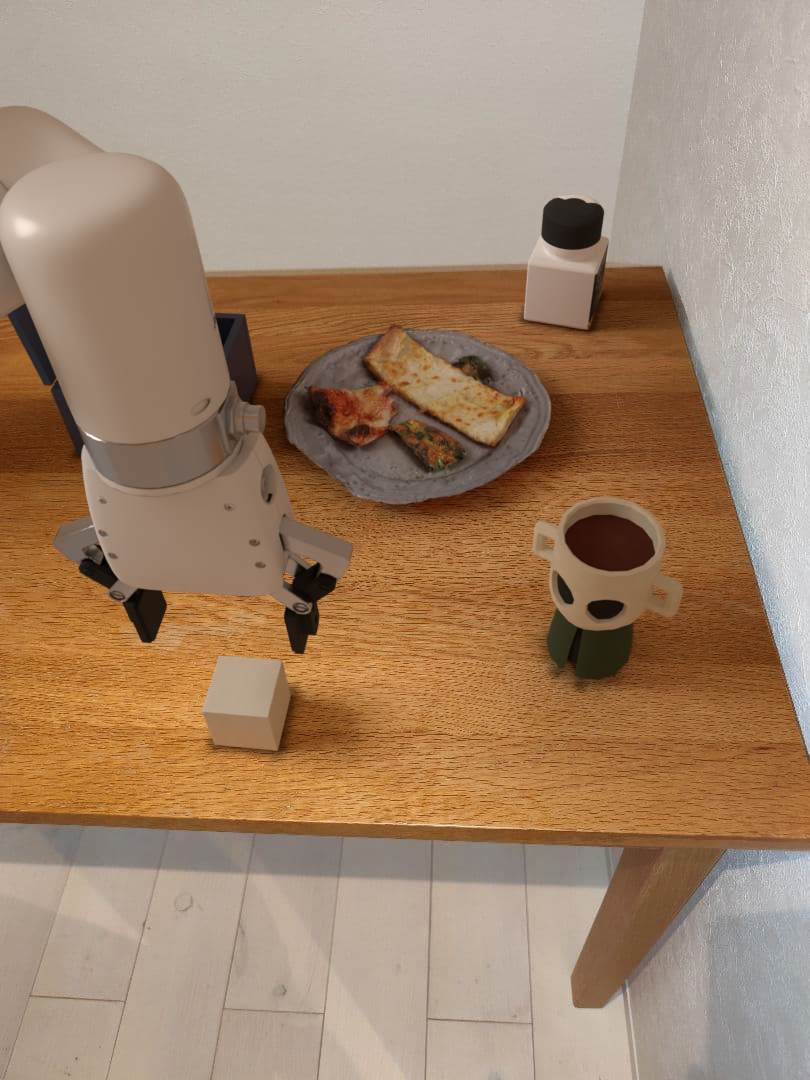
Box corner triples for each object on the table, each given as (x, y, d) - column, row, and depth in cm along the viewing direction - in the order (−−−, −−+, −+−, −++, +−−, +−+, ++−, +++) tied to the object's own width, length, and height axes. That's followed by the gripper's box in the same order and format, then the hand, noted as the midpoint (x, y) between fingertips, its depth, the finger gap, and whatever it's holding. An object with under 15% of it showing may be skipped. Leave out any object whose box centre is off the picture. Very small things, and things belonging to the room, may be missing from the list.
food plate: (241, 414, 87) (235, 385, 85) (419, 318, 97) (418, 290, 94) (409, 556, 74) (407, 528, 72) (595, 429, 84) (599, 400, 81)
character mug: (501, 648, 68) (510, 534, 58) (547, 587, 72) (562, 470, 62) (633, 718, 64) (666, 607, 54) (674, 649, 67) (712, 534, 58)
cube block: (214, 745, 63) (201, 711, 60) (230, 689, 66) (218, 654, 63) (277, 751, 63) (268, 717, 59) (291, 695, 66) (282, 660, 62)
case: (258, 378, 91) (245, 313, 85) (227, 464, 83) (210, 398, 77) (121, 372, 93) (99, 307, 87) (77, 455, 84) (49, 389, 78)
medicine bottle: (588, 331, 94) (603, 226, 85) (522, 321, 96) (530, 216, 87) (601, 295, 99) (616, 191, 90) (537, 285, 101) (547, 183, 92)
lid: (33, 145, 75) (25, 146, 75) (-33, 222, 67) (-42, 222, 67) (101, 303, 86) (93, 304, 86) (52, 385, 78) (44, 386, 78)
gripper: (346, 381, 45) (371, 592, 58) (25, 369, 47) (118, 576, 60) (320, 484, 40) (354, 690, 53) (-38, 466, 42) (77, 669, 55)
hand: (228, 629), depth 56 cm, fingers open, 9 cm apart
